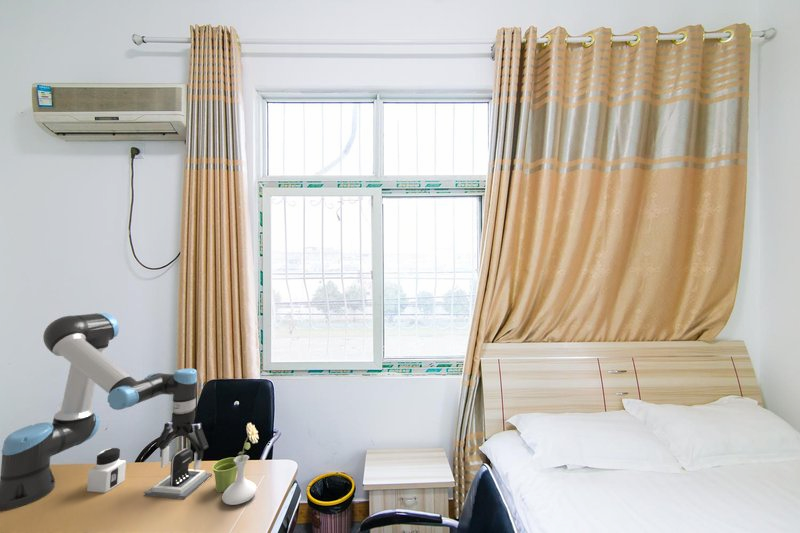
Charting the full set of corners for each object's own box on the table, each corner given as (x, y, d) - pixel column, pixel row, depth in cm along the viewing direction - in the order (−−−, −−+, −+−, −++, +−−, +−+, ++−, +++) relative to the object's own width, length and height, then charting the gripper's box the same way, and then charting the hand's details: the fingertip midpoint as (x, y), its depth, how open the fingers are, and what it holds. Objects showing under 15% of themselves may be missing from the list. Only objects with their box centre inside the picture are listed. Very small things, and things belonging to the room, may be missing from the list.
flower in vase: (242, 511, 109) (246, 435, 110) (214, 506, 111) (217, 432, 112) (266, 487, 121) (268, 420, 123) (239, 483, 124) (242, 417, 125)
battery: (177, 488, 118) (179, 456, 119) (168, 487, 119) (170, 455, 120) (192, 477, 125) (194, 447, 126) (184, 476, 126) (186, 446, 127)
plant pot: (205, 492, 118) (206, 468, 118) (225, 478, 127) (226, 455, 127) (224, 497, 115) (226, 473, 116) (244, 482, 124) (245, 459, 125)
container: (125, 480, 124) (127, 446, 125) (105, 493, 117) (107, 456, 118) (107, 479, 125) (109, 445, 126) (86, 491, 117) (88, 455, 118)
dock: (144, 495, 116) (144, 488, 116) (175, 472, 130) (175, 466, 130) (184, 499, 114) (185, 491, 114) (211, 476, 128) (212, 469, 128)
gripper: (146, 412, 121) (142, 469, 120) (206, 416, 119) (203, 475, 117) (162, 405, 129) (159, 459, 127) (220, 408, 126) (217, 463, 125)
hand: (180, 467), depth 122 cm, fingers open, 13 cm apart
